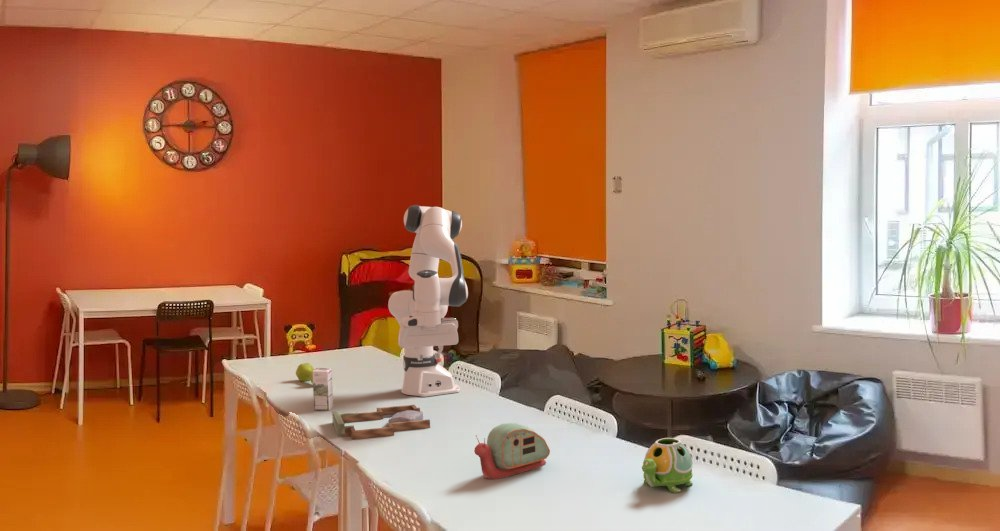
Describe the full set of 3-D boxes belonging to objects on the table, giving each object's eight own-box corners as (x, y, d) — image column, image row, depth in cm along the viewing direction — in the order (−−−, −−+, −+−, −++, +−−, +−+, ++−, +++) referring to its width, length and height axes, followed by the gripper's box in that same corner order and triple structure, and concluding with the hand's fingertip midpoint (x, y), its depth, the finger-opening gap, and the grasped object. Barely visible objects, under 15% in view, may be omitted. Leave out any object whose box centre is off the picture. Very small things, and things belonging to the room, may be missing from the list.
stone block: (387, 433, 299) (416, 429, 297) (384, 419, 299) (413, 414, 296) (398, 425, 310) (425, 420, 308) (395, 411, 310) (422, 406, 308)
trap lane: (416, 411, 319) (416, 400, 318) (433, 431, 293) (432, 419, 293) (331, 419, 310) (330, 407, 310) (340, 440, 285) (339, 428, 284)
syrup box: (333, 406, 327) (332, 367, 326) (329, 410, 322) (327, 370, 320) (318, 406, 328) (316, 367, 327) (313, 410, 322) (311, 370, 321)
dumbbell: (330, 385, 362) (330, 367, 361) (312, 388, 357) (312, 370, 356) (312, 378, 375) (311, 361, 374) (294, 381, 370) (294, 364, 369)
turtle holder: (624, 491, 235) (624, 446, 234) (662, 473, 249) (662, 431, 247) (664, 502, 227) (664, 456, 226) (701, 483, 240) (702, 439, 239)
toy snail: (536, 459, 263) (535, 412, 262) (553, 465, 257) (553, 418, 256) (467, 478, 247) (466, 429, 246) (484, 485, 242) (483, 435, 240)
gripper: (455, 315, 309) (456, 355, 310) (396, 319, 303) (397, 359, 305) (460, 318, 303) (461, 358, 304) (400, 322, 297) (401, 363, 299)
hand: (428, 359), depth 304 cm, fingers open, 5 cm apart
